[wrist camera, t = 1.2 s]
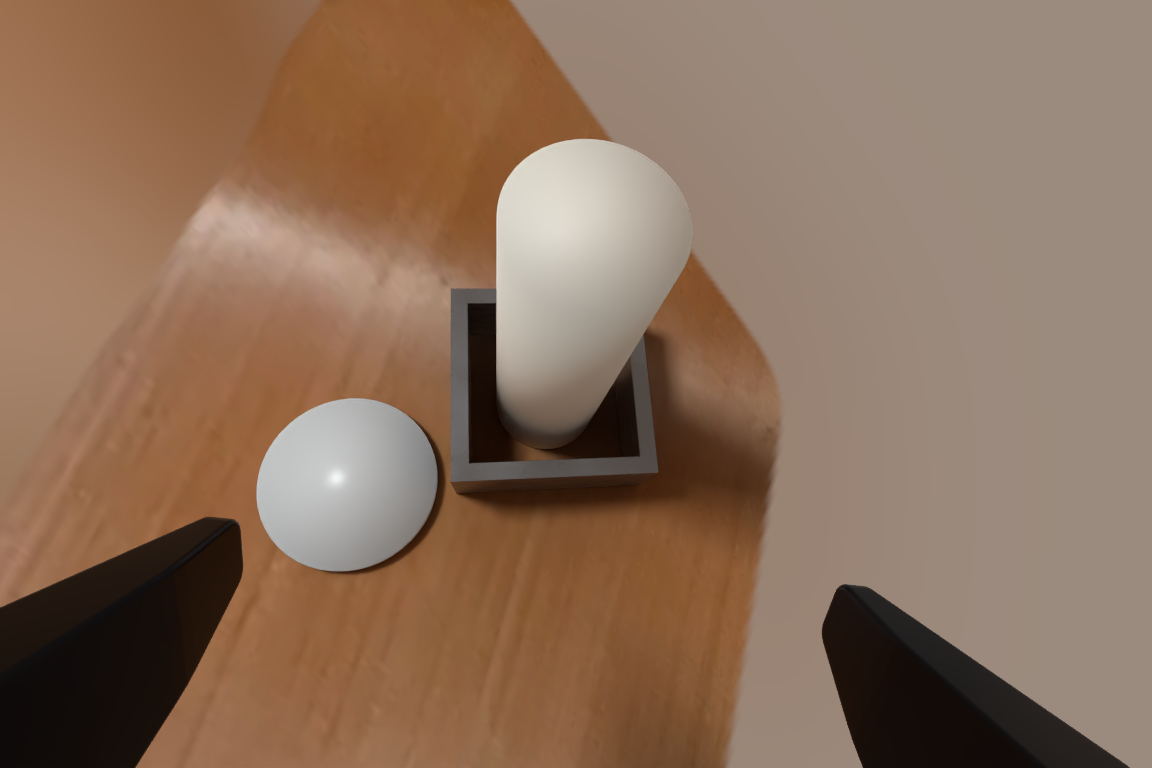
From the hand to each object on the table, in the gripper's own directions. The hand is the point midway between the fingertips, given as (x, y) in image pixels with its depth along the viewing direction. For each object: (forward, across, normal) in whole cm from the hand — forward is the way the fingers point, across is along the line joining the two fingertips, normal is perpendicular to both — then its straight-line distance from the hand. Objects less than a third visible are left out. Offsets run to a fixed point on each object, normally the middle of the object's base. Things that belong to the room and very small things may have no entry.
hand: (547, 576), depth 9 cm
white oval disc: (+12, +7, +7) cm, 16 cm away
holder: (+15, 0, +4) cm, 15 cm away
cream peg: (+15, 0, +4) cm, 15 cm away
